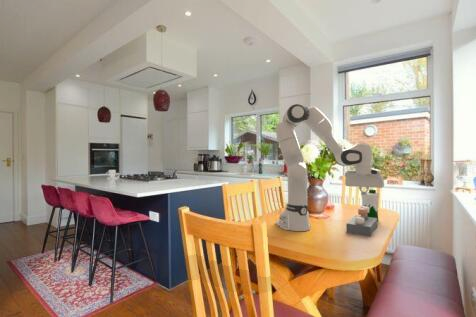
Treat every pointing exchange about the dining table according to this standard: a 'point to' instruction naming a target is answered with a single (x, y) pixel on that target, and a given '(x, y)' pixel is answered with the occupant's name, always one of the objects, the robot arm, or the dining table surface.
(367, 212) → the white knob
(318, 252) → the dining table surface
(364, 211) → the terracotta knob
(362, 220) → the white knob
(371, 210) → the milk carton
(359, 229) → the console
